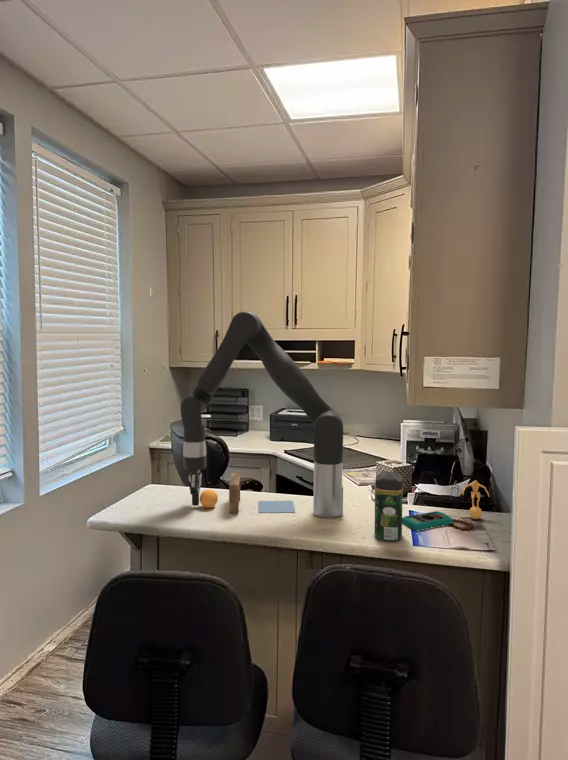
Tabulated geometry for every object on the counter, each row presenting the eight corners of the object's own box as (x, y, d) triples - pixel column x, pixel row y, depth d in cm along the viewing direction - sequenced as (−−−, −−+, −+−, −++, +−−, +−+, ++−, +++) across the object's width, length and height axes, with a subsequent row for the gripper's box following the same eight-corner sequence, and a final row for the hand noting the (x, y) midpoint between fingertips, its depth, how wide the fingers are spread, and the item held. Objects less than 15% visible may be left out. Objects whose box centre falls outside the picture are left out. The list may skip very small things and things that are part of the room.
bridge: (240, 500, 182) (240, 473, 181) (238, 514, 167) (238, 485, 166) (231, 500, 182) (231, 473, 181) (229, 514, 167) (229, 485, 166)
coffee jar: (374, 529, 155) (376, 468, 154) (401, 531, 154) (403, 470, 152) (373, 541, 146) (374, 476, 144) (401, 544, 144) (403, 478, 143)
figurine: (462, 519, 164) (464, 482, 163) (460, 513, 170) (461, 477, 169) (490, 521, 162) (491, 484, 161) (486, 515, 168) (488, 479, 167)
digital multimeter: (454, 525, 160) (454, 516, 160) (416, 533, 154) (416, 523, 154) (437, 518, 167) (437, 509, 167) (400, 525, 160) (400, 515, 160)
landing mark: (292, 501, 181) (292, 500, 181) (295, 512, 169) (295, 512, 169) (258, 501, 181) (258, 500, 181) (258, 512, 169) (258, 512, 169)
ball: (197, 498, 177) (212, 507, 177) (195, 504, 171) (211, 513, 171) (206, 484, 177) (221, 492, 177) (204, 488, 171) (220, 498, 171)
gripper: (204, 458, 166) (204, 511, 167) (208, 449, 179) (208, 498, 180) (180, 458, 166) (181, 511, 167) (186, 450, 179) (187, 499, 180)
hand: (195, 504), depth 174 cm, fingers closed
